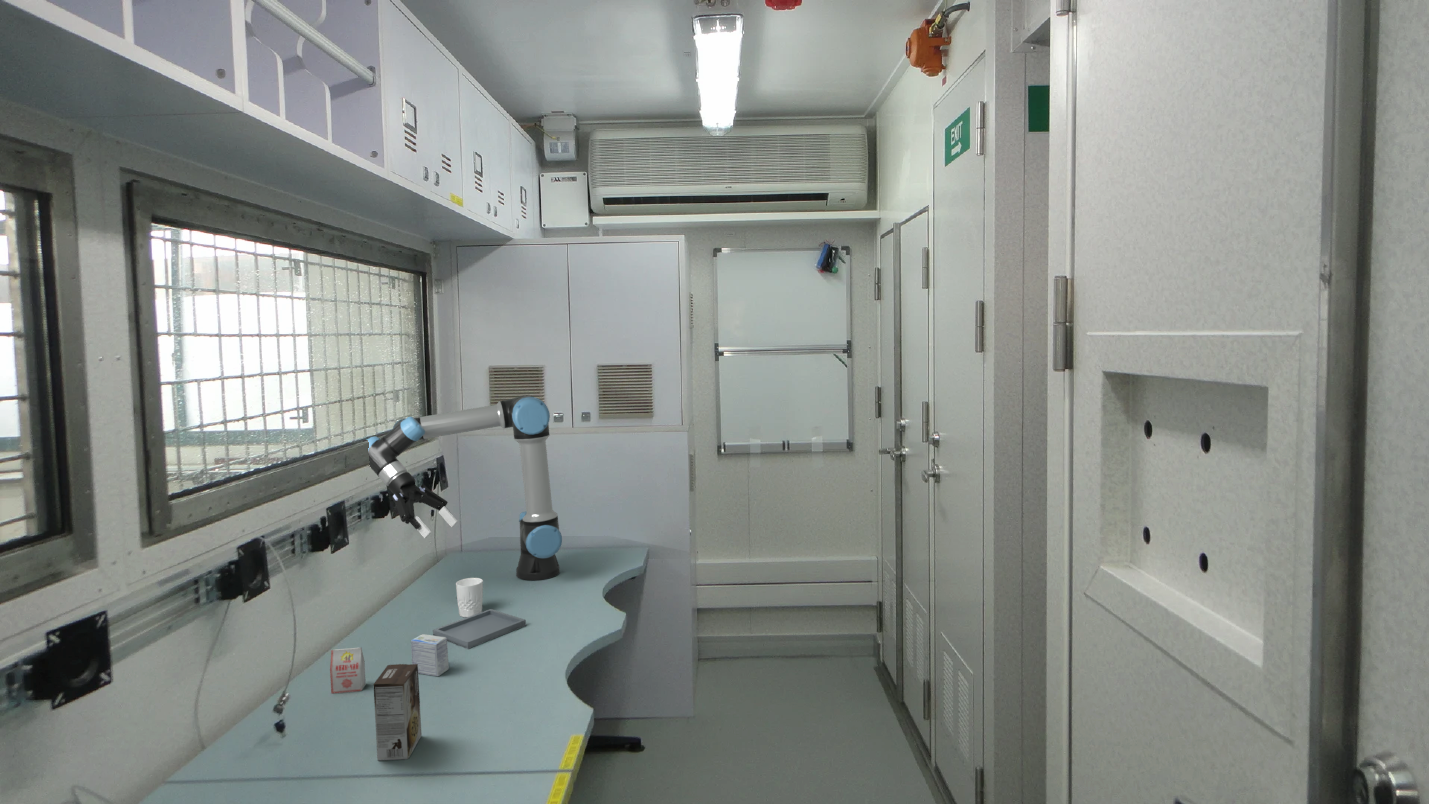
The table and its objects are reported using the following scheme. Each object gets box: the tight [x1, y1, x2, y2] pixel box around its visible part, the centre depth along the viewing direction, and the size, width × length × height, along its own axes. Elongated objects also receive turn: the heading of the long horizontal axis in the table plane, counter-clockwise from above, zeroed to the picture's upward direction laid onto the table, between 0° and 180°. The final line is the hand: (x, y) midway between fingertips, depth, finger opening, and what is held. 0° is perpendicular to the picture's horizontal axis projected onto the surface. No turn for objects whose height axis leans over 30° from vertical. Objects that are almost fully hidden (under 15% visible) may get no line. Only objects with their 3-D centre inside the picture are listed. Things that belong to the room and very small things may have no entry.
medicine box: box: [410, 633, 450, 677], centre depth 191 cm, size 8×4×9 cm, turn 71°
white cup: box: [455, 577, 484, 618], centre depth 232 cm, size 8×8×10 cm
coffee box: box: [372, 663, 422, 761], centre depth 155 cm, size 9×6×16 cm
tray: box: [432, 608, 527, 650], centre depth 218 cm, size 20×16×2 cm
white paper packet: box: [329, 646, 367, 694], centre depth 182 cm, size 4×7×10 cm, turn 100°
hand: (441, 529), depth 232 cm, fingers open, 13 cm apart
